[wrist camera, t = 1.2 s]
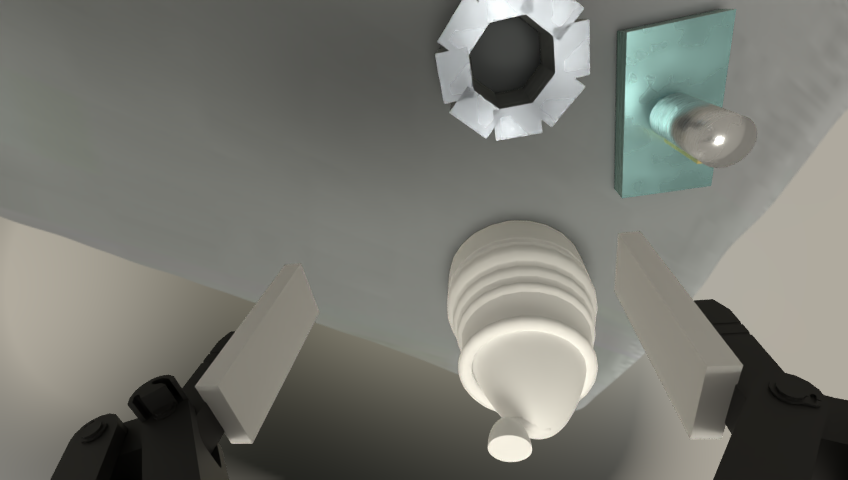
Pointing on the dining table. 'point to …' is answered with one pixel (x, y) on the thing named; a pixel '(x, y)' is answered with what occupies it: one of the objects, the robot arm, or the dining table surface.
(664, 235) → the dining table surface
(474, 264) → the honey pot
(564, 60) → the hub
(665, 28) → the teal two-tone fixture
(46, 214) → the dining table surface
